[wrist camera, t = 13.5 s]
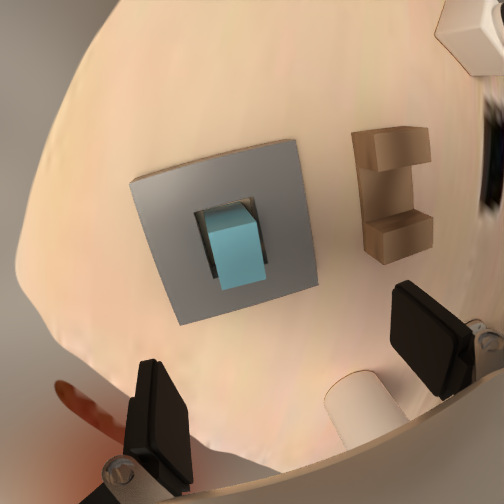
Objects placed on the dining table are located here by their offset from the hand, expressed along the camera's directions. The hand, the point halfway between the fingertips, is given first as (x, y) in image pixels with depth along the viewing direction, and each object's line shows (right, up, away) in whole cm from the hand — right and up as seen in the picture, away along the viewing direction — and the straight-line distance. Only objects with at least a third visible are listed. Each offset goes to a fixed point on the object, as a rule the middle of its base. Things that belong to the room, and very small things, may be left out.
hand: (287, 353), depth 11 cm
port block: (-3, +6, +14) cm, 15 cm away
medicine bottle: (+22, +28, +11) cm, 37 cm away
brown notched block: (+11, +10, +15) cm, 21 cm away
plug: (-3, +6, +14) cm, 15 cm away
